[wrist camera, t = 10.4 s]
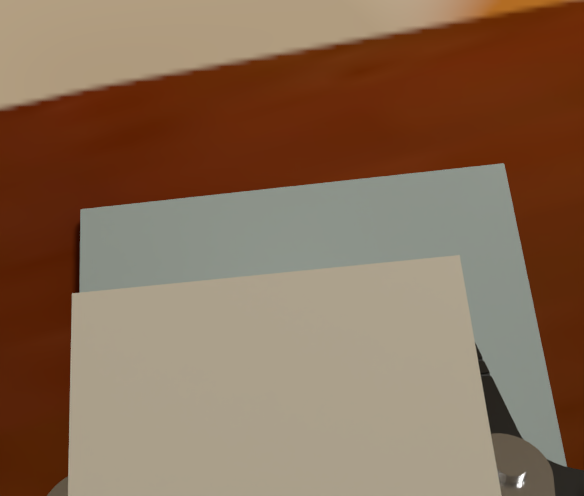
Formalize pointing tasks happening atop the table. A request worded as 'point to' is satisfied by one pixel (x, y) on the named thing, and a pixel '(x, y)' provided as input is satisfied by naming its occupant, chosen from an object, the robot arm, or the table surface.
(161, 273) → the tile
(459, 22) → the table surface
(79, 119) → the table surface
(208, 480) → the beige block
